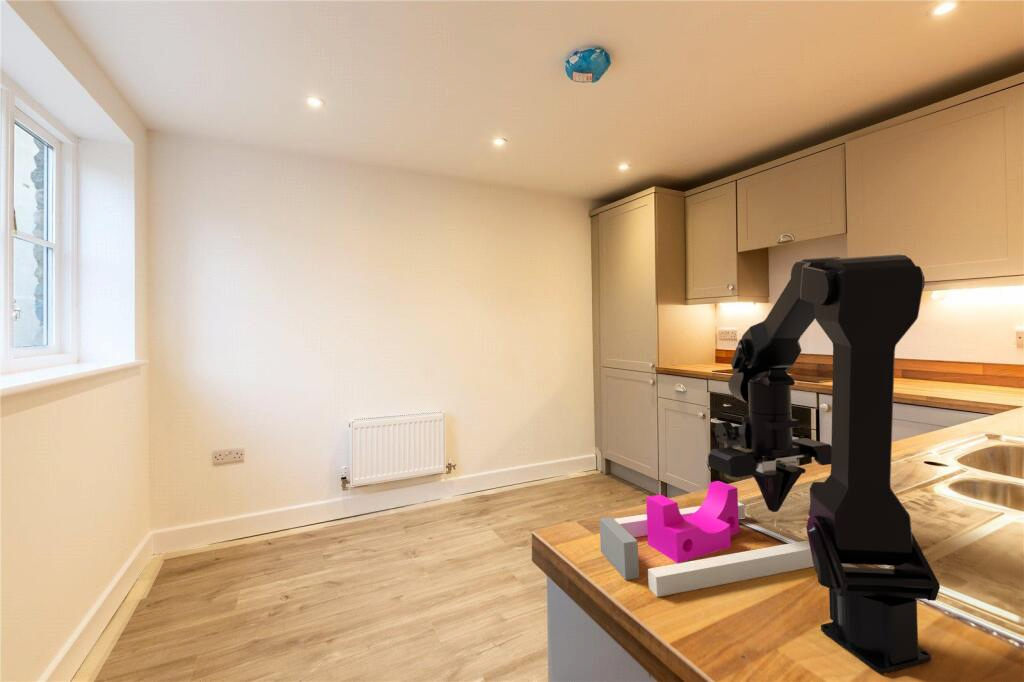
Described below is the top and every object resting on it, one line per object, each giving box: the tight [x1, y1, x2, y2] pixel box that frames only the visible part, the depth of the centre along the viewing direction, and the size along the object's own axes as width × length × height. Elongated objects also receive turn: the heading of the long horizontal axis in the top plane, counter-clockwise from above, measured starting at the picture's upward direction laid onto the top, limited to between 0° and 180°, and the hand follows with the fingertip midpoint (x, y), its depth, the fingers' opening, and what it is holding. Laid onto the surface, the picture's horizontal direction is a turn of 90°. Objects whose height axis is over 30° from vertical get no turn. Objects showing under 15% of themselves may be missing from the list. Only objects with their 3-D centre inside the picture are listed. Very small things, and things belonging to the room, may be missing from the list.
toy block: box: [645, 480, 740, 564], centre depth 68 cm, size 15×6×8 cm, turn 112°
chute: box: [598, 501, 815, 598], centre depth 65 cm, size 17×28×5 cm, turn 102°
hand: (773, 510), depth 68 cm, fingers closed
